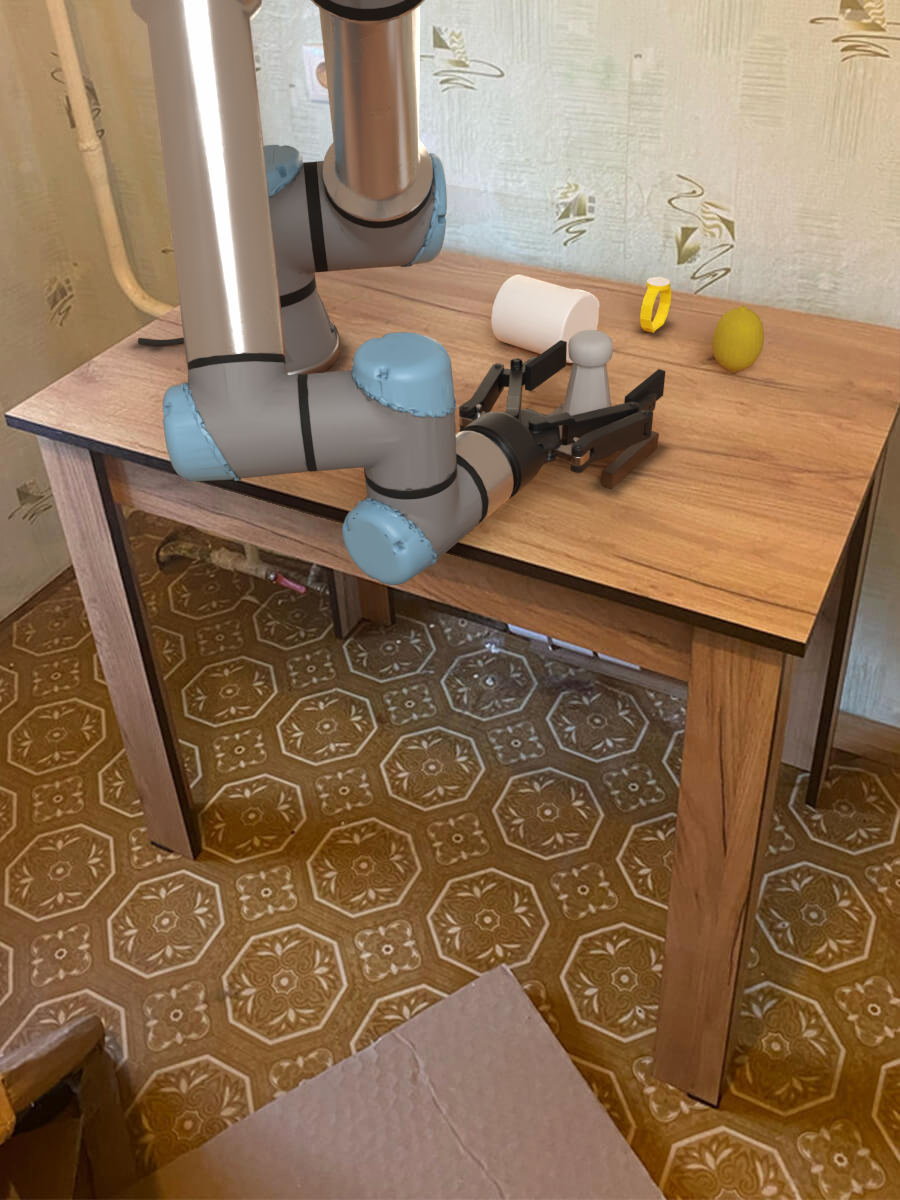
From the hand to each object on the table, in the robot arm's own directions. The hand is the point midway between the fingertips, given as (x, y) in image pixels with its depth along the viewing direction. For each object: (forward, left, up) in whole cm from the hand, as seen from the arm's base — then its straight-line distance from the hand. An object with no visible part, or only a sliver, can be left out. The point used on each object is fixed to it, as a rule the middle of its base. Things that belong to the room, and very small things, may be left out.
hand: (611, 367), depth 111 cm
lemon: (+5, +19, -8) cm, 22 cm away
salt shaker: (0, -4, -8) cm, 9 cm away
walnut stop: (0, -4, -8) cm, 9 cm away
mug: (-16, +14, -8) cm, 23 cm away
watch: (-8, +24, -8) cm, 27 cm away
